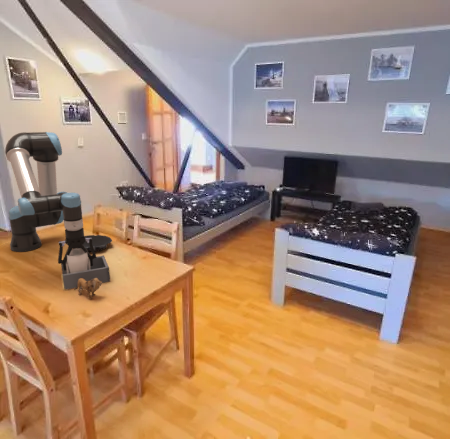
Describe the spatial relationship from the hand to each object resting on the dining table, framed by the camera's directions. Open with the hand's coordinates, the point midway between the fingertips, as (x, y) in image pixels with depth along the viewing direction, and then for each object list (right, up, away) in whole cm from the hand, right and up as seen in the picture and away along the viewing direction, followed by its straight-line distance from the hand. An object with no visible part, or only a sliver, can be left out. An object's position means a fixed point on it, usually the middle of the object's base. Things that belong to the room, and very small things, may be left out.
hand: (79, 274), depth 155 cm
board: (-8, +9, +36) cm, 38 cm away
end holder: (+2, -2, +2) cm, 4 cm away
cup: (0, -1, 0) cm, 1 cm away
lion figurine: (+9, -7, -11) cm, 16 cm away
